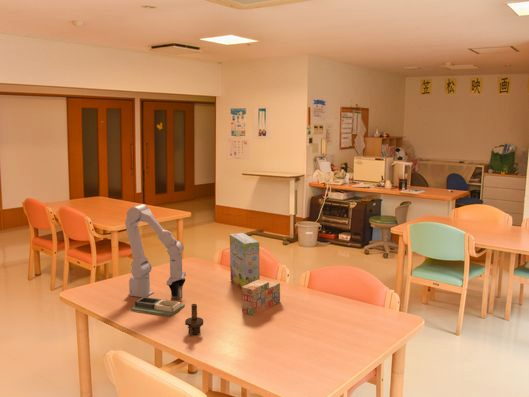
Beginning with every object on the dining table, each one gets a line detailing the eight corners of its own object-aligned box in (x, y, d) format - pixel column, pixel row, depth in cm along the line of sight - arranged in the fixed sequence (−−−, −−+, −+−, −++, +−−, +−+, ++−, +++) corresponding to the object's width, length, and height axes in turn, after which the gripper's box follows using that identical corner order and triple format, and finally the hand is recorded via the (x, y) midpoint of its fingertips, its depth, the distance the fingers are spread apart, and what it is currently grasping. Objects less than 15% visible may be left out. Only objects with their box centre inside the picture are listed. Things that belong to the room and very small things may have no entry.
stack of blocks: (269, 298, 241) (269, 274, 239) (280, 301, 237) (280, 276, 235) (241, 312, 224) (241, 286, 222) (252, 316, 220) (252, 289, 218)
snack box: (228, 281, 266) (228, 233, 262) (244, 278, 270) (243, 232, 266) (244, 294, 247) (244, 243, 243) (260, 291, 251) (260, 241, 247)
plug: (171, 298, 241) (171, 287, 240) (175, 295, 244) (174, 285, 243) (178, 299, 239) (178, 288, 238) (182, 297, 243) (182, 286, 242)
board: (131, 310, 225) (130, 304, 225) (147, 300, 238) (147, 294, 237) (170, 316, 219) (169, 310, 218) (184, 306, 231) (184, 299, 230)
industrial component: (191, 338, 197) (190, 309, 195) (181, 332, 202) (180, 304, 200) (210, 331, 203) (210, 303, 202) (200, 326, 209) (199, 298, 207)
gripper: (175, 272, 231) (176, 300, 233) (190, 264, 245) (191, 290, 247) (162, 271, 234) (163, 299, 236) (178, 262, 247) (178, 289, 249)
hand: (176, 294), depth 241 cm, fingers closed on plug, 3 cm apart
